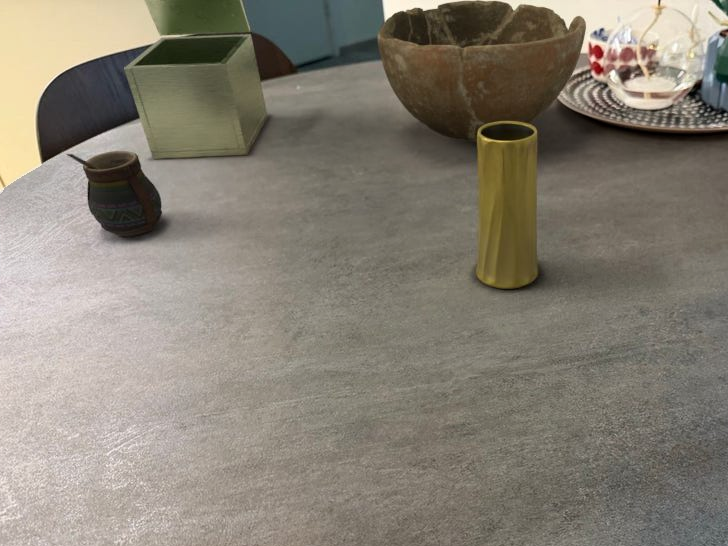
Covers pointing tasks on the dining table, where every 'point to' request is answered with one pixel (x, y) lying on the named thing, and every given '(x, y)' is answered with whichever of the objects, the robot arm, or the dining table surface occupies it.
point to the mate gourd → (121, 193)
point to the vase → (507, 204)
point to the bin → (198, 95)
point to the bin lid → (198, 16)
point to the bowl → (478, 63)
